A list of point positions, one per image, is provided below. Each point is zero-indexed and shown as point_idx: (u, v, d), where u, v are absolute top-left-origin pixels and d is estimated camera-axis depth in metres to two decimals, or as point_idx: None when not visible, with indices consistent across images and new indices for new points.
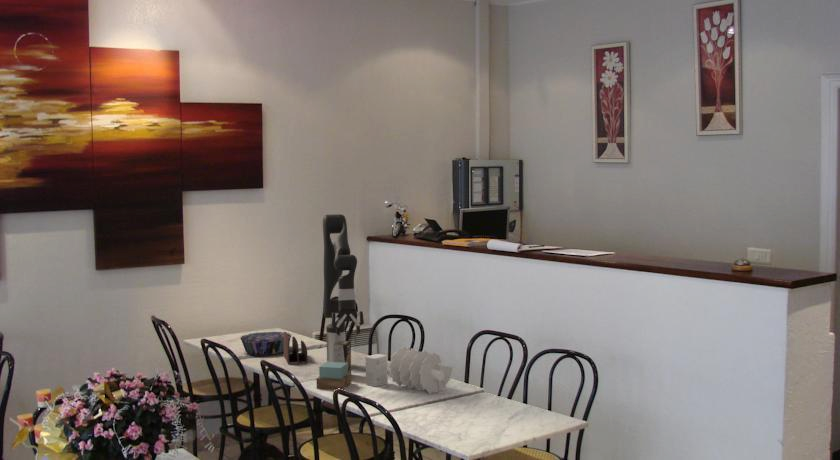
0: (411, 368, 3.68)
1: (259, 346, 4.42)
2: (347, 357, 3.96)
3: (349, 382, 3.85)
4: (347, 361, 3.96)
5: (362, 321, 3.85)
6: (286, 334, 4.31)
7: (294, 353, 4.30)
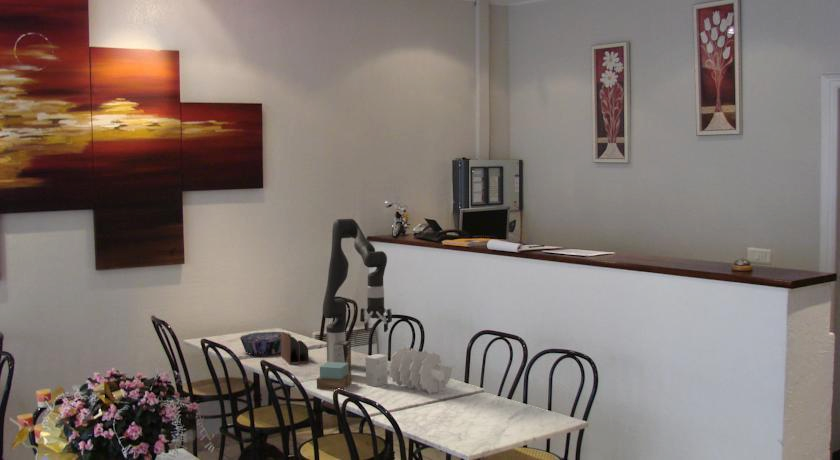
0: (411, 368, 3.68)
1: (259, 346, 4.42)
2: (347, 357, 3.96)
3: (349, 382, 3.85)
4: (347, 361, 3.96)
5: (389, 319, 3.80)
6: (286, 334, 4.30)
7: (294, 353, 4.30)
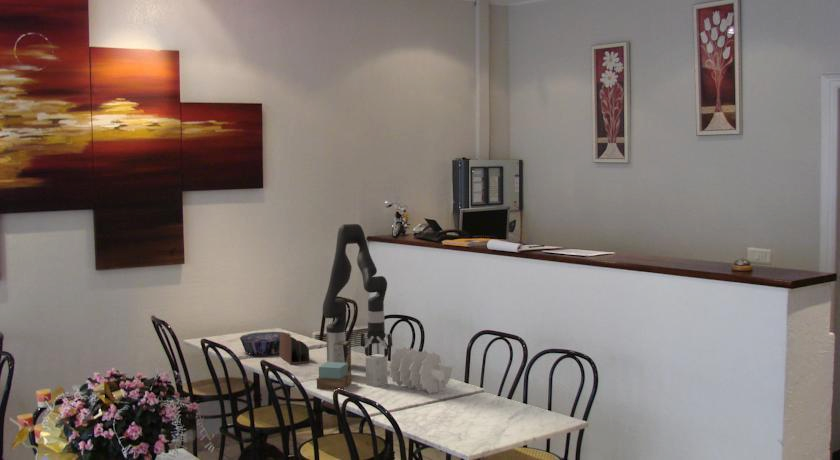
0: (411, 368, 3.68)
1: (258, 346, 4.42)
2: (347, 357, 3.96)
3: (349, 382, 3.85)
4: (347, 361, 3.96)
5: (389, 344, 3.81)
6: (286, 334, 4.30)
7: (294, 353, 4.30)
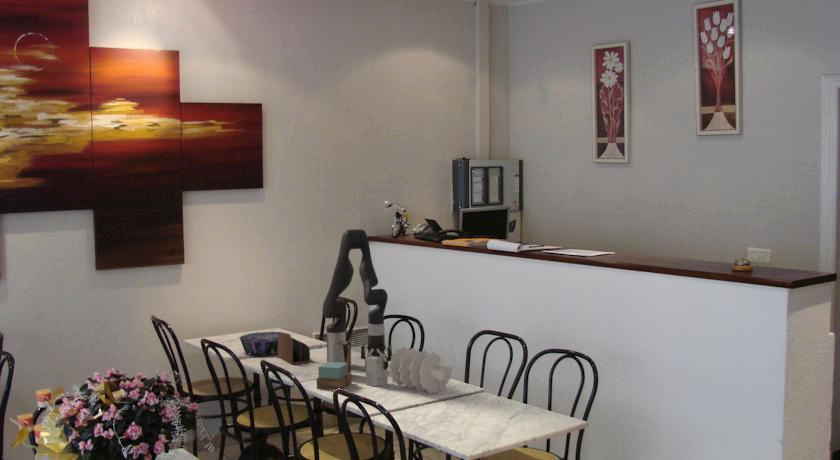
0: (411, 368, 3.68)
1: (258, 346, 4.42)
2: (347, 357, 3.96)
3: (349, 382, 3.85)
4: (347, 361, 3.96)
5: (389, 357, 3.81)
6: (286, 335, 4.30)
7: (294, 353, 4.30)
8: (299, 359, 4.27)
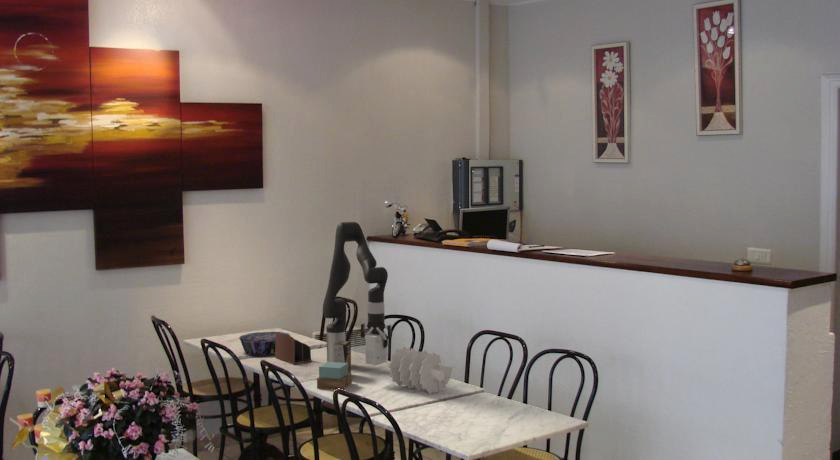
0: (411, 368, 3.68)
1: (257, 346, 4.42)
2: (347, 357, 3.96)
3: (350, 382, 3.85)
4: (347, 361, 3.96)
5: (389, 335, 3.81)
6: (286, 335, 4.29)
7: (294, 353, 4.30)
8: (300, 359, 4.27)
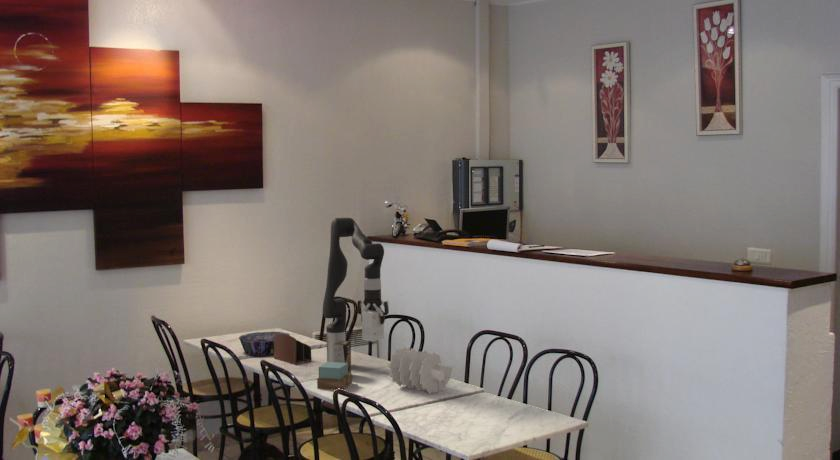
0: (411, 368, 3.68)
1: (257, 346, 4.42)
2: (347, 357, 3.96)
3: (350, 382, 3.85)
4: (347, 361, 3.96)
5: (386, 312, 3.80)
6: (286, 335, 4.28)
7: None
8: (301, 359, 4.27)
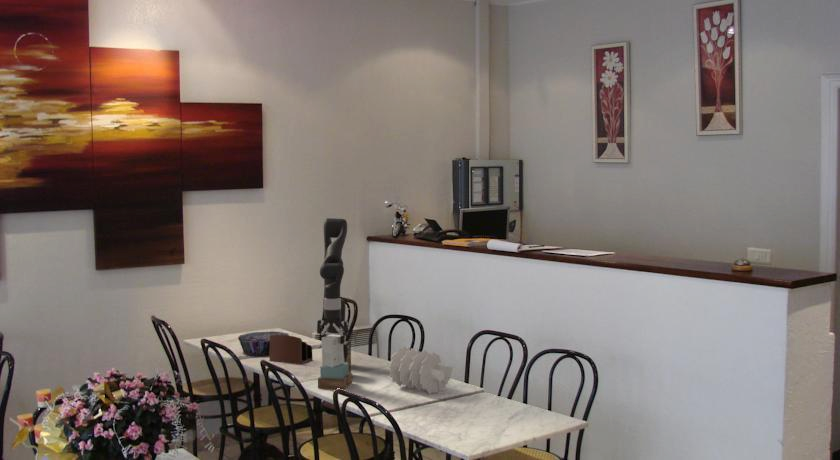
0: (411, 368, 3.68)
1: (256, 346, 4.43)
2: (347, 357, 3.96)
3: (350, 382, 3.86)
4: (347, 361, 3.96)
5: (345, 331, 3.78)
6: (287, 336, 4.27)
7: None
8: (304, 358, 4.28)
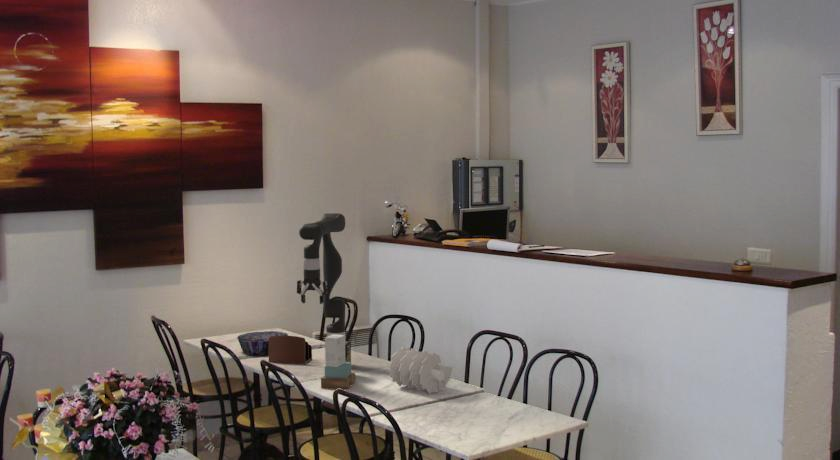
0: (411, 368, 3.68)
1: (255, 345, 4.43)
2: (347, 357, 3.96)
3: (353, 382, 3.86)
4: (347, 361, 3.96)
5: (324, 291, 3.86)
6: (289, 336, 4.26)
7: None
8: (305, 358, 4.29)
